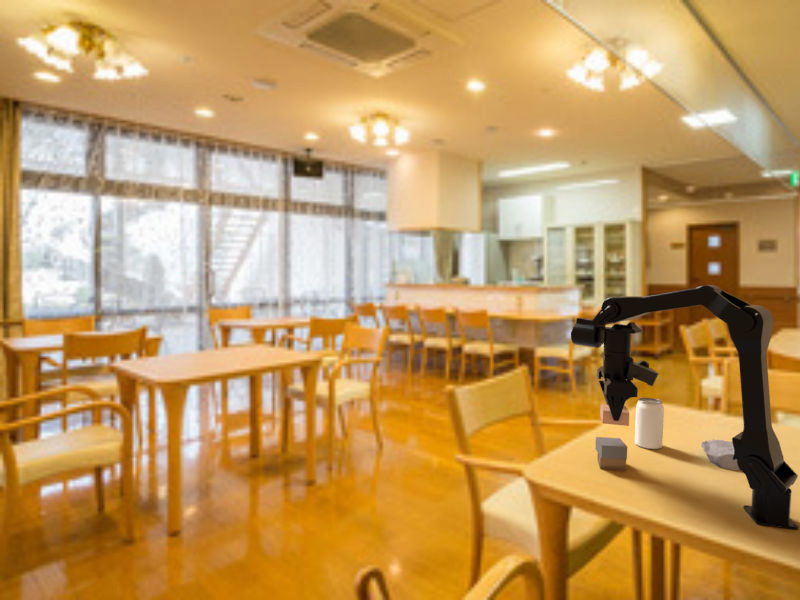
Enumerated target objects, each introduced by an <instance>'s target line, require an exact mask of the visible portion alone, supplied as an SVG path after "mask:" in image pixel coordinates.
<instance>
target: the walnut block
mask: <svg viewBox="0 0 800 600" xmlns="http://www.w3.org/2000/svg"><path fill="white" fill-rule="evenodd" d="M596 457H597V458H596V459H597V462H598V463H597V464H598V466H599V469H601V470H607V471H617V472H625V473H626V471H627V460H626V459H610V458H601V456H600V455H599V453H598V452H597V456H596Z"/></svg>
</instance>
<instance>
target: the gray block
mask: <svg viewBox="0 0 800 600" xmlns="http://www.w3.org/2000/svg"><path fill="white" fill-rule="evenodd" d="M595 451H596V452H597V454H598V453H599V455H600V456H601V458H610V459H626V461H627V460H628V446H627V445H626V444H625V442H624V441H623V440H622V439H621V437H606V436H603V437H601V436H596V437H595Z"/></svg>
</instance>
